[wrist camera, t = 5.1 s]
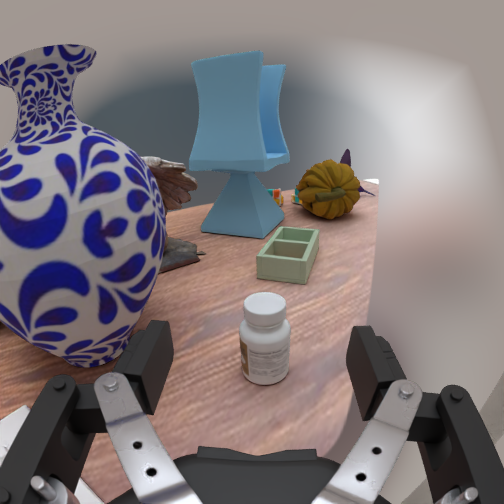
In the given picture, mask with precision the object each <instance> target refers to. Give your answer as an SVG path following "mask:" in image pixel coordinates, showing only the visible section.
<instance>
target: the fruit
mask: <svg viewBox="0 0 504 504" xmlns="http://www.w3.org/2000/svg"><path fill="white" fill-rule="evenodd" d="M359 187H360V182H359V180H358V179H357V177H354V171H353V170H352V169H351V167H350V166H349V165H347V164H343V163H339V164H337V163H336V162H334V161H333V160H326V161H323V162H322V164H321V163H318V164H315V165H314V166H313V167H311V169H310V170H308V171H307V172H306V173H305V174H304V176H303V177H302V179H301V181H300V182H299V185H297V186H296V189H297V190H298V191H299V193H298V194H297V195H298V198H299V199H300V200H302V205H303V207H304V208H305V209H307V210H309V211H311V212H312V213H313V214H315V215H317V216H322V217H324V218H327V219H329V220H331V219H333V218H334V217H339V216H341V215H343V213H348V212H350V211H351V210H352V208H353V205H354V204H355V203H356V202H357V201H358V200H359V198H360V195H359V191H358V188H359Z"/></svg>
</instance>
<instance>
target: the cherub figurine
mask: <svg viewBox="0 0 504 504" xmlns="http://www.w3.org/2000/svg"><path fill="white" fill-rule="evenodd" d="M141 159H142V160H143V161H144V162H145V163H146V164H147V166H148V167H149V169H150V171H151V172H152V174H153V176H154V177H155V180H156V183H157V185H158V188H159V191H160V194H161V198H162V202H163V206H164V210H165V216H166V215H167V210H173V209H181V208H182V206H181V204H182V203H186V202H188V201H190V200H191V197H190V194H189V193H188V191H190V190H196V189H197V181H196V179H194V178H193V177H191V176H190V175H188V174H185V173H182V172H184V171H186V168H185V166H184V164H182V163H174V162H169V161H166V160H161V159H160V158H157V157H141ZM196 248H197V246H196V245H195V244H192V243H190V242H187V241H182V240H181V239H173V238H170V237H168V235H167V232H166V238H165V244H164V251H163V257H162V262H161V265H160V269H159V272H158V273H161V272H164V271H167V270H170V269H174V268H177V267H180V266H183V265H186V264H190V263H193V262H196V261H199V260H200V259H199V258H198V256H196V255H195V254H206V253H204V252H203V251H200V252H198V253H196V251H197V250H196Z"/></svg>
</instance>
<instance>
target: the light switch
mask: <svg viewBox="0 0 504 504" xmlns="http://www.w3.org/2000/svg"><path fill="white" fill-rule="evenodd" d="M29 412H30V409H29V407H28V406H26V405H23V406H22V407H20V408H19V409H17V410H15V411H14V412H12V413H11V414H9V415H8V416H6V417H5V418H3V419H2V420H0V466H1V464H2V462H3V460H4V458H5V456H6V454H7V452H8V450H9V448H10V446H11V445H12V443H13V441H14V439H15V437H16V435H17V433H18V431H19V430H20V428H21V426H22V424H23V422H24V421H25V419H26V417H27V415H28V414H29ZM74 495H75V496H76V497H77V499H78V500H79V502H80V504H105V503H104V502H103V501H102V500H101V499H100V498H99V497H98V496H97V495H96V494H95V493H94V492H93V491H92V490H91V489H90V488H89V487H88V485H87V484H86V483H85V482H84V481H83V480H82V479H81V478H79V481H78V484H77V487H76V490H75V493H74Z"/></svg>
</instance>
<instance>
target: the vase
mask: <svg viewBox="0 0 504 504" xmlns="http://www.w3.org/2000/svg"><path fill="white" fill-rule="evenodd" d="M95 56H96V51H95V50H94V49H92V48H90V47H87V46H83V45H72V44H68V45H54V46H47V47H41V48H37V49H33V50H30V51H27V52H24V53H21V54H19V55H16V56H14V57H13V58H10V59H8V60H7V61H5V62H4V63H2V64H1V65H0V84H1V85H3V86H7V87H10V88H12V89H13V91H14V92H15V95H16V98H17V103H18V118H17V125H16V129H15V132H14V135H13V136H12V138H11V139H10V141H9V142H8V143H7V144H6V145H5V146H4V147H3V148H2V149H1V150H0V321H1V322H2V323H3V324H5V325H6V326H7V327H8V328H9V329H10V330H12V331H13V332H14V333H15V334H17V335H18V336H20V337H21V338H23V339H25V340H26V341H28V342H29V343H31V344H33V345H35V346H37V347H39V348H41V349H43V350H45V351H47V352H49V353H51V354H54V355H56V356H59V357H61V358H64V359H65V360H66V361H67V362H68V363H69V364H71V365H74V366H77V367H95V366H99V365H102V364H105V363H107V362H109V361H111V360H113V359H115V358H116V357H117V356H119V355H120V354H121V353H122V352H123V351H124V349H125V347H126V346H127V345H128V342H129V339H130V333H131V332H132V330H133V328H134V327H135V325H136V323H137V321H138V319H139V318H140V316H141V314H142V312H143V310H144V308H145V306H146V304H147V301H148V299H149V296H150V294H151V292H152V289H153V287H154V284H155V282H156V278H157V275H158V272H159V269H160V265H161V262H162V257H163V251H164V244H165V238H166V218H165V210H164V206H163V202H162V198H161V194H160V191H159V188H158V185H157V183H156V180H155V177H154V176H153V174H152V172H151V171H150V169H149V167H148V166H147V164H146V163H145V162H144V161H143V160H142V159H141V157H140V156H139V155H138V154H137V153H136V152H135V151H133V150H132V149H131V148H129V147H128V146H127V145H125V144H124V143H122V142H121V141H119V140H117V139H116V138H114V137H112V136H110V135H108V134H106V133H105V132H103V131H101V130H98V129H96V128H94V127H91V126H89V125H86V124H85V123H83V122H81V121H80V120H79V119H78V117H77V116H76V113H75V110H74V107H73V102H72V91H73V86H74V82H75V79H76V77H77V76H78V74H80V73H81V72H83V71H84V70H86V69H87V68H89V67H90V66H91V64H92V62H93V60H94V58H95Z"/></svg>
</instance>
